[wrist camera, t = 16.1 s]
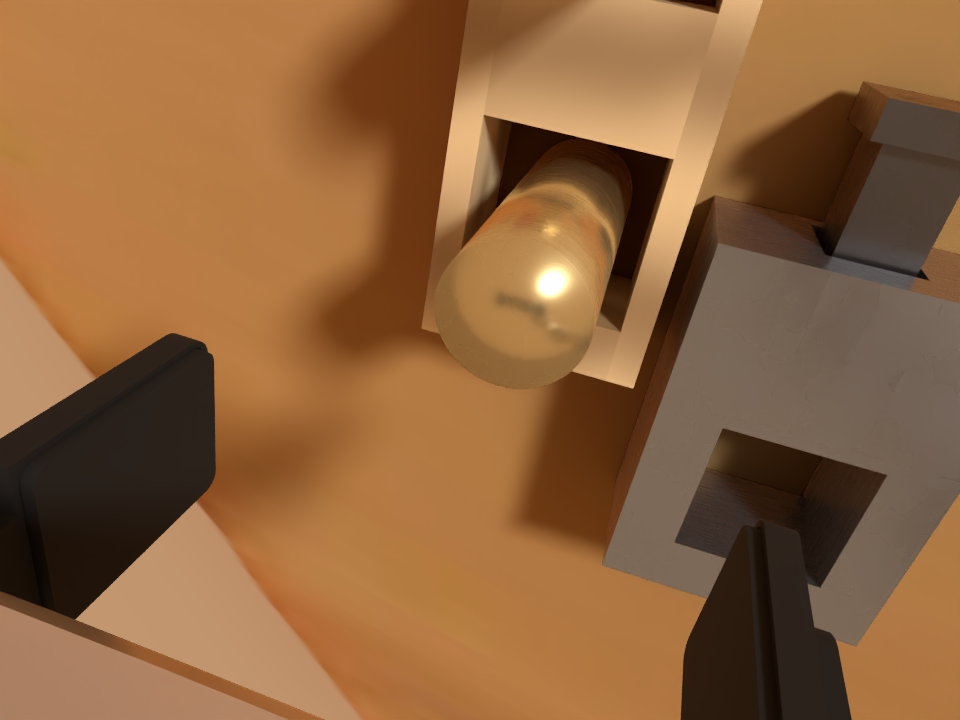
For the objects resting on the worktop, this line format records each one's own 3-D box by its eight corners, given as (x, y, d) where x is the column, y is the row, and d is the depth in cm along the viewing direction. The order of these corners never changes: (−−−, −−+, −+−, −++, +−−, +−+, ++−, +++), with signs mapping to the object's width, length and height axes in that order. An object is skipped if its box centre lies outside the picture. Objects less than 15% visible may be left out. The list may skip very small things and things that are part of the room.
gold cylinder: (616, 251, 28) (572, 407, 18) (520, 227, 29) (424, 364, 19) (645, 152, 26) (613, 263, 16) (540, 127, 27) (446, 220, 17)
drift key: (845, 371, 28) (864, 421, 25) (751, 346, 28) (758, 391, 25) (980, 106, 23) (1025, 126, 19) (863, 81, 23) (889, 97, 20)
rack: (642, 329, 30) (633, 388, 25) (459, 279, 31) (421, 328, 26) (848, -307, 19) (891, -387, 15) (564, -347, 21) (530, -431, 16)
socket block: (832, 548, 32) (855, 646, 27) (615, 482, 34) (602, 565, 29) (999, 264, 25) (1069, 330, 20) (714, 195, 26) (718, 243, 22)
